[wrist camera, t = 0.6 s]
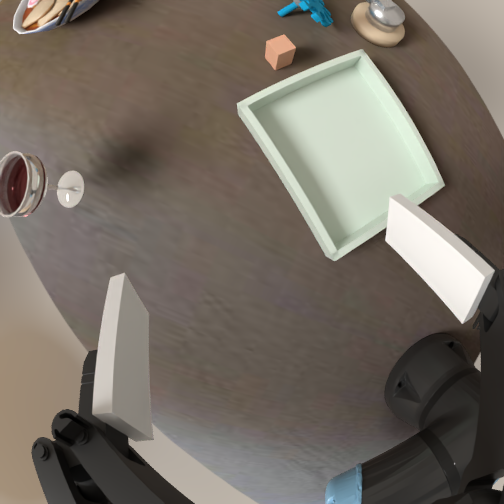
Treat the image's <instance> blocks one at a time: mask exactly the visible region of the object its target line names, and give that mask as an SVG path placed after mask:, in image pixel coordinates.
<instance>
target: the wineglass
mask: <svg viewBox="0 0 504 504" xmlns="http://www.w3.org/2000/svg"><path fill="white" fill-rule="evenodd" d="M47 182H48V178H47V171H46V168H45V166H44V164H43V163H42V162H41V160H40V159H39V158H38V157H37V156H34V155H32V154H29V153H24V154H22V153H20V152H17V151H14V152H10V153H9V154H7V155H6V156H5V157H4V158H3V159H2V161H1V162H0V214H1V215H2V216H4V217H11V216H16V217H23V216H27V215H29V214H31V213H33V212H34V211H35V210H36V209H37V208H38V207H39V206H40V205H41V203H42V201H43V199H44V197H45V194H46V190H57V196H58V199H59V202H60V203H61V204H62V205H63V206H65V207H67V208H71V207H73V206H75V205H77V204H78V203H79V201H80V200H81V198H82V196H83V193H84V181H83V178H82V176H81V175H80V174H79V173H78V172H76V171H69V172H67V173H65V174H64V175H63V176H62V177H61V179H60V181H59V183H58V186H56V185H51V184H47Z"/></svg>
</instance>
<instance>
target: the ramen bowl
mask: <svg viewBox="0 0 504 504" xmlns="http://www.w3.org/2000/svg"><path fill="white" fill-rule="evenodd" d="M98 1H99V0H22V1H21V3H20V5H19V7H18V9H17V11H16V13H15V15H14V21H13V29H14V30H15V31H17V32H18V33H19V34H29V33H35V32H42V31H49V30H52V29H56V28H58V27H60V26H62V25H64V24H66V23H69V22H70V21H72V20H74V19H75V18H77V17H78V16H80V15H81V14H83V13H84V12H86V11H87V10H89V9H90V8H91V7H92V6H93V5H94V4H96V3H97V2H98Z"/></svg>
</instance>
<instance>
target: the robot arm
mask: <svg viewBox="0 0 504 504" xmlns="http://www.w3.org/2000/svg"><path fill="white" fill-rule="evenodd" d="M385 241H386V242H387V243H388V244H389V245H390V246H391V247H392V248H393V249H394V250H395V251H396V252H397V253H398V254H399V255H400V256H401V257H402V258H403V259H404V260H405V261H406V262H407V263H408V264H409V265H410V266H411V267H412V268H413V269H414V270H415V271H416V272H417V273H418V274H419V275H420V276H421V277H422V278H423V280H424V281H425V282H426V283H427V284H428V285H429V286H430V287H431V288H432V289H433V290H434V292H435V293H436V294H437V295H438V296H439V297H440V298H441V299H442V301H443V302H444V303H445V304H446V305H447V306H448V307H449V309H450V310H451V311H452V312H453V313H454V315H455V316H456V317H457V318H458V319H459V321H460V322H461V323H462V324H463V323H464V322H466V321H467V320H469V319H470V318H472V317H473V315H474V313H475V311H476V309H477V307H478V308H479V310H480V313H479V315H478V317H477V319H476V321H475V322H474V324H473V329H475V327H476V325H477V324H478V322H479V326H478V328H477V329H479V330H480V346H481V372H480V371H479V370H477V369H476V368H475V366H474V364H473V362H472V360H471V358H470V357H469V355H468V353H467V351H466V349H465V348H464V346H463V345H462V344H461V343H460V342H459V341H458V340H457V339H455V338H454V337H452V336H450V335H448V334H444V333H439V334H434V335H430V336H428V337H426V338H424V339H422V340H420V341H419V342H417V343H416V344H414V345H413V346H412V347H411V348H410V349H408V350H407V351H406V352H405V353H404V355H403V356H402V357H401V358H400V359H399V360H398V362H397V363H396V365H395V366H394V368H393V369H392V371H391V373H390V375H389V377H388V380H387V383H386V387H385V400H386V403H387V405H388V407H389V408H390V410H391V411H392V412H393V414H394V415H395V416H396V417H398V418H399V419H401V420H403V421H405V422H406V423H408V424H410V425H412V426H414V427H416V428H417V429H419V430H420V432H419V433H417V434H415V435H414V436H412V437H410V438H409V439H407V440H405V441H404V442H402V443H400V444H399V445H397V446H395V447H393V448H392V449H390V450H388V451H386V452H384V453H382V454H380V455H378V456H377V457H375V458H373V459H371V460H369V461H366V462H364V463H362V464H361V463H359V464H357V465H356V467H354V468H352V469H350V470H348V471H346V472H344V473H342V474H340V475H337V476H335V477H334V478H333V479H331V480H330V481H329V483H328V485H327V487H326V492H325V503H326V504H504V486H503V491H499V490H495V489H492V486H493V485H494V484H495V483H496V482H497V481H498V479H499V478H501V477H503V476H504V269H502V270H499V269H498V268H497V267H496V266H495V265H494V264H493V263H492V262H491V261H490V260H489V259H488V258H486V257H485V256H484V255H483V254H482V253H481V252H480V251H479V252H478V249H476V248H475V247H474V246H472V244H471V243H469V242H468V241H467V240H466V239H465V238H463V237H461V236H459V235H457V234H453V233H452V232H451V231H450V230H448V229H447V228H446V227H445V226H443V225H442V224H441V223H440V222H438V221H437V220H436V219H434V218H433V217H432V216H431V215H429V214H428V213H427V212H425V211H424V210H423V209H421V208H420V207H418V206H417V205H416V204H414V203H413V202H412V201H410V200H409V199H407V198H406V197H405V196H403V195H402V194H397V195H394V196H390V198H389V210H388V221H387V230H386V239H385ZM82 374H83V376H82V381H81V383H82V385H81V390H80V401H79V413H78V414H77V413H76V412H74V411H72V410H69V409H66V410H62V411H60V412H59V413H57V415H56V416H55V418H54V419H53V422H52V435H53V438H54V439H56V440H55V441H51V440H50V439H48V438H45V437H41V438H38V439H37V440H36V441H35V442H34V444H33V446H32V458H33V462H34V465H35V468H36V471H37V474H38V478H39V481H40V483H41V486H42V489H43V492H44V494H45V496H46V499H47V502H48V504H195V503H193V502H192V501H191V500H189V499H188V498H187V497H185V496H184V495H183V494H182V493H181V492H179V491H178V490H177V489H176V488H174V487H173V486H172V485H171V484H170V483H169V482H168V481H166V480H165V479H164V478H163V477H162V476H161V475H160V474H159V473H158V472H156V471H155V470H154V469H153V468H152V467H151V466H150V465H149V464H148V463H147V462H146V461H145V460H144V459H143V458H142V457H141V456H140V455H139V454H138V453H137V452H136V451H135V450H134V449H133V448H132V447H131V446H129V444H128V437H129V438H131V439H132V440H134V441H145V440H153V429H152V417H151V402H150V383H149V313H148V311H147V310H146V308H145V306H144V305H143V303H142V301H141V300H140V298H139V296H138V295H137V293H136V291H135V290H134V288H133V286H132V284H131V283H130V281H129V279H128V277H127V276H126V274H125V273H123V274H120V275H117V276H113V277H111V278H110V282H109V287H108V292H107V297H106V302H105V307H104V313H103V318H102V324H101V331H100V337H99V344H98V350H93V351H89V353H88V355H87V357H86V359H85V361H84V365H83V372H82Z"/></svg>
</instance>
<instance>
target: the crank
mask: <svg viewBox="0 0 504 504" xmlns="http://www.w3.org/2000/svg"><path fill="white" fill-rule="evenodd" d="M366 1H367V2H368V3H369V4H370V5H369V7H368V8H367V10H366V12H365V17H366V19H367V20H368V22H369V23H370V24H371V25H372V26H374V27H375V28H377V29H378V30H380V31H383V32H387V33H391V32H394V31H395V30H396V29H397V28H398V27H399V26H400V24H401V23H402V22H403V21H404V20H405V15H404V12H403V11H402V9H401V8H400V7H399V6H398V5H397V4H395V3H394V2H392V1H391V0H366Z"/></svg>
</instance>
